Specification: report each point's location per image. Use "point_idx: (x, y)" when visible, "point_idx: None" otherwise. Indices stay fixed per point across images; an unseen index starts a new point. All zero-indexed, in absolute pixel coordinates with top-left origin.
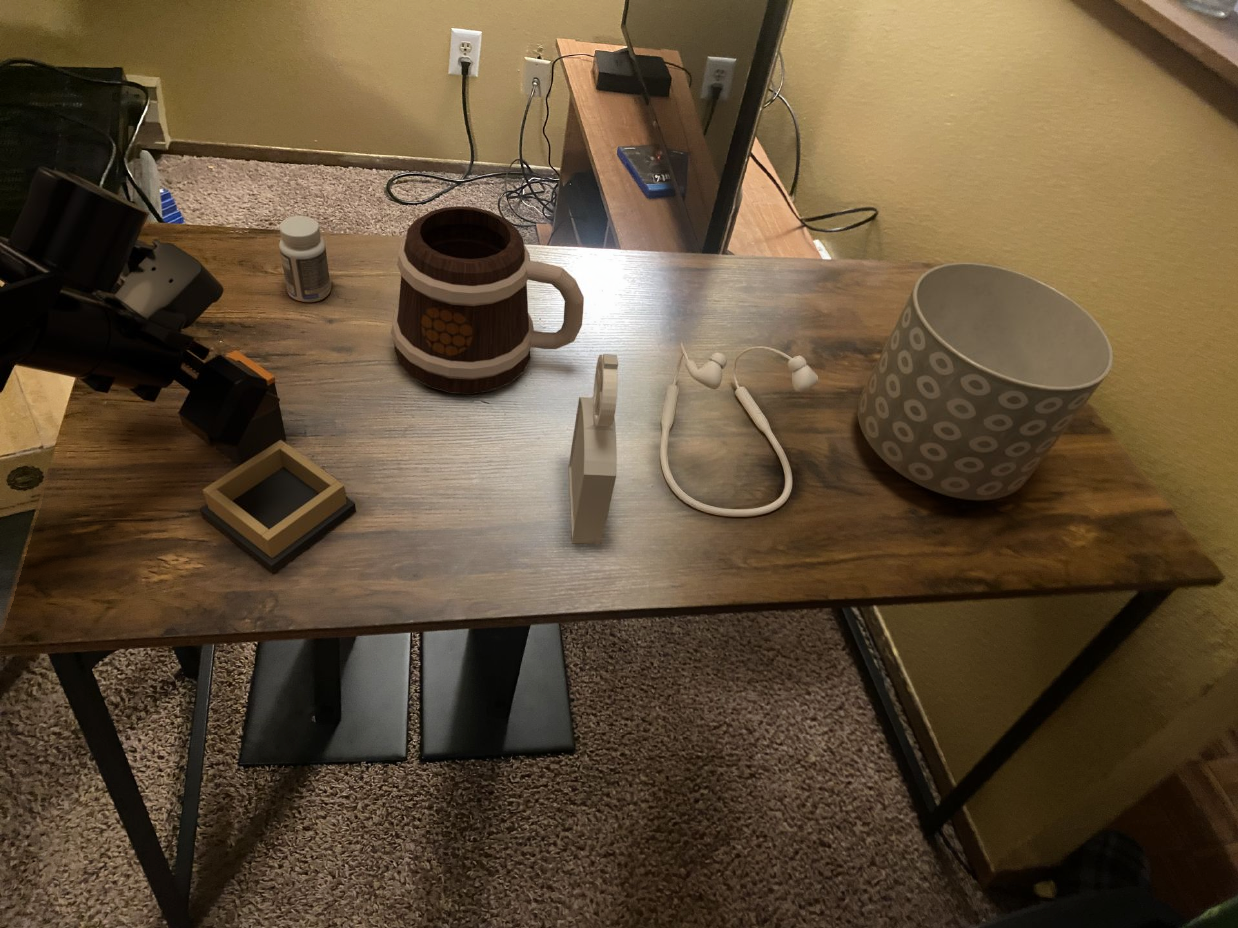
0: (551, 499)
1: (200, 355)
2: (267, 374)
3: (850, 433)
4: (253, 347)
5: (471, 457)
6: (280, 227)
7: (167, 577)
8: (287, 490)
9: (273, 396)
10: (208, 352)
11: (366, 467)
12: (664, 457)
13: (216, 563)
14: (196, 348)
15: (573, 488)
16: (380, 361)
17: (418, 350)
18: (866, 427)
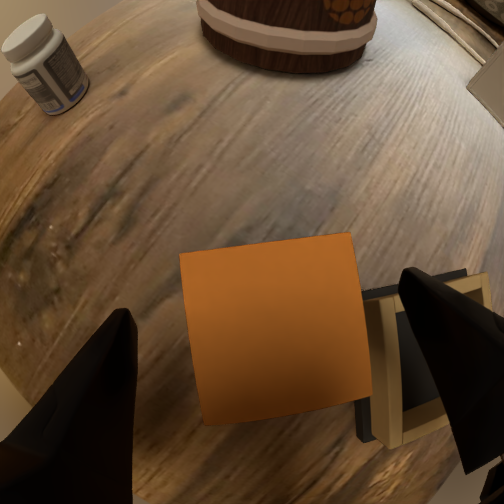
0: (491, 124)
1: (131, 339)
2: (332, 242)
3: (464, 7)
4: (86, 195)
5: (436, 123)
6: (4, 50)
7: (396, 483)
8: (411, 331)
9: (446, 285)
10: (129, 313)
11: (407, 214)
12: (476, 53)
13: (419, 440)
14: (121, 348)
15: (500, 108)
16: (233, 82)
17: (316, 32)
18: (487, 6)
